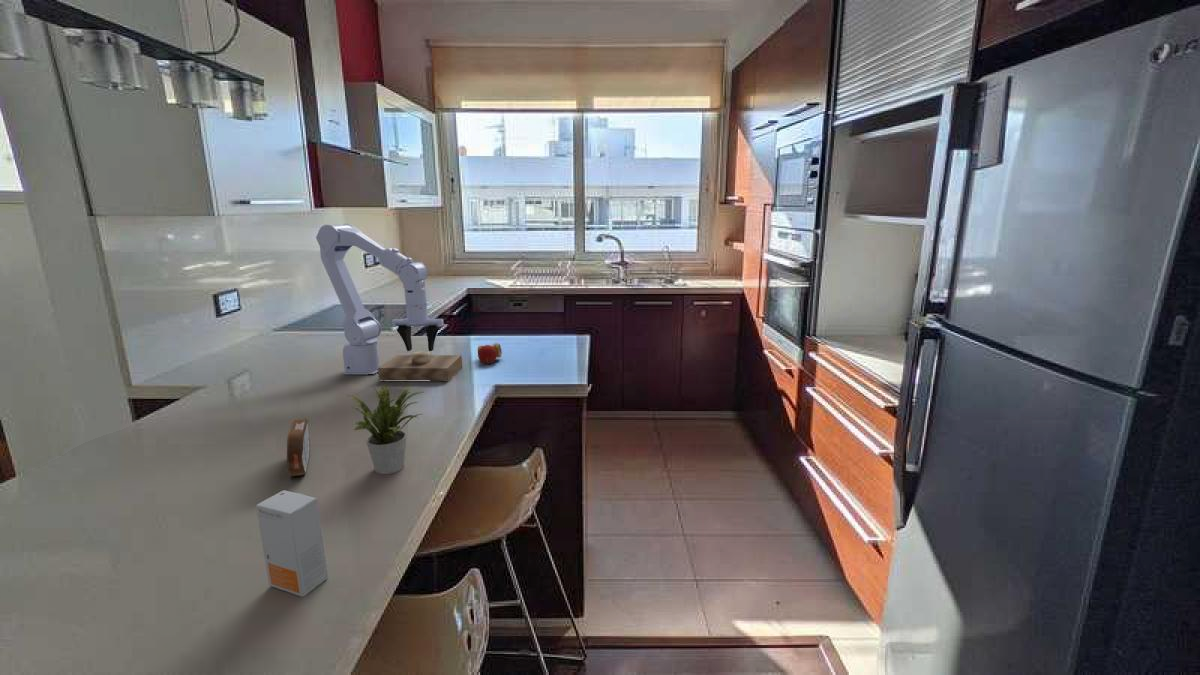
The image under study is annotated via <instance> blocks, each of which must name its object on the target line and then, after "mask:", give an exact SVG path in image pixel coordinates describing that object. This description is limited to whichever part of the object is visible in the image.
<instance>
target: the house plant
mask: <svg viewBox="0 0 1200 675" xmlns="http://www.w3.org/2000/svg"><path fill="white" fill-rule="evenodd" d="M383 385H384V386H383ZM383 385H382V386H381V388H380V390H379V391H378V390H377V389H376V388H375V387H374V386H373V387H372V388H373V389H374V391H375V393H376V396H377V399H378V405H377V407H376V409H374V410H373V412H372V411H371V409H370V407H368V405H367V404H366V403H365V402H363V401H362V400H361V399H358V398H357V397H355V396H353V395H349V394H348V395H347V394H346V395H347V396H348V397H349V398H351V399H352V400H353V401H355V403H356V404H357V405H358V406H359V407H360V408H361V409H362V410H361V409H360V408H358V407H355V406H352V405H351V408H353V409H356V410H357V411H358V412H360V413H361V414H362V416H363V420H364V421H356V422H355V424H356V425H357V426H356V427H355V428H354V429H353V431H360V430H367V431H368V432H370V434H371V435H369V436H368V437H367V438H366V439H365V441H366V445H367V448H368V449H367V450H368V453H369V454H370V458H371V462H372V465H373V468H374V471H375V473H377V474H381V475H390V474H394V473H397V472H399V471H401V470H403V469H404V467H405V459H406V448H407V446H406V445H407V432H405V431H402V429H403V428H404V427H405V426H406V425H407V424H408V423H409V422H410V421H411V420H412V419H414V418H417V419H419V417H418V416H422V415H423V413H419V414H418V413H417V414H415V415H414V414H408V415H405V416H402V415H403V414H405V413H404V410H405V409H406V408H407V407H409V406H410V405H413V404H417V403H419V402H417V401H413V402H410V403H408V404H405V403H406V401H408V400H409V399H410V398H412V397H413V396H416V395H419V394H423V393H424V391H418V392H415V393H412V394H410V395H408V394H409V393H411V391H409V390H410V389H412V387H414V384H412V385H411V386H409V387H407V388H406V389H405V390H403V391H402V392H401V394H400V395H399V396H398V397H396V398H393V399H391V395H390V394H391V393H390V392H389V388H388V386H387V385H386V383H384V384H383ZM407 395H408V396H407ZM395 400H396V401H395ZM393 401H395V403H394V405H392V406H391V403H392V402H393ZM401 416H402V417H401ZM400 417H401V418H400ZM405 419H408V420H407V421H406V422H405V423H404V424H403V425H402V426H401V425H399V424H400V423H401V422H403V421H404V420H405Z"/></svg>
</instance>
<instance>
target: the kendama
mask: <svg viewBox="0 0 1200 675" xmlns="http://www.w3.org/2000/svg"><path fill="white" fill-rule="evenodd" d="M502 355H503V351H502V346H501V344H499V343H497V342H495V343H493V344H492V345H490V344H485V345H479V346H477V357H478V359H479V361H480V362H481V363H483V364H486V365H490V364H493V363H494V362H495V361H496V360H497V359H498V358H501V357H502Z"/></svg>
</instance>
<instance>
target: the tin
mask: <svg viewBox="0 0 1200 675" xmlns="http://www.w3.org/2000/svg"><path fill="white" fill-rule="evenodd" d="M309 422H310V421H309V419H308V418H292V420H291V425H290V427H289V430H288V434H287V439H286V465H287V473H288V476H289V477H290V478H292V477H297V476H298V477H299V476H303V475H306V473H307V471H308V467H309V463H310V456H311V440H310V434H309V426H310V423H309Z"/></svg>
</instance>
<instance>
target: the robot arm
mask: <svg viewBox="0 0 1200 675" xmlns="http://www.w3.org/2000/svg"><path fill="white" fill-rule="evenodd" d="M315 239H316V241H317V243H318V245H319V252H320V254H319V255H320V259H321V262H322V264H323V266H324V269H325V271H326V274H327V275H328V278H329V281H330V283H331V285H332V287H333V290H334V292H335V294H336V296H337V299H338V301H339V303H340V305H341V307H342V309H343V311H344V312H343V313H344V314H345V317H344V318H343V320H342V325H343V329H344V331H343V332H344V337H345V340H346V341H347V342H346V343H345V344H344V346H343V348H342V349H343V350H342V358H343V366H344V367H343V368H344V372H343V375H368V374H374V375H376V374H378V373H377V372H378V368H379V367H380V366H381V363H380V354H379V345H378V341H379V337H380V335H381V333H382V326H381V323H380V322H379V321H378V320H377V319H376V317H374V314H373V313H372V312H371V311H369V310H368V309H366V308H365V306H364V304H363V302H362V300H361V297H360V295H359V292H358V290H357V288H356V286H355V283H354V281H353V278H352V277H351V274H350V272H349V270H348V267H347V265H346V262H345V261H344V260H345V256H346V254H347V253H348V252H349V250H350V249H352V247H356V248H359V250H362V251H364V252H365V253H367V254H369V255H371V256H373V257H375V258H377V259H378V261H379V264H380V266H382V267H384V268H385V269H387V270H389V272H392V273H393V274H395V275H397V276H398V278H399V280H400V282H401V283H402V284H403V285H402V286H403V289H404V299H405V311H406V318H394V319H392V320H391V326H392V328H397V329H396V332H397V333H398V334H399V336H400V338H401V340H403V343H404V345H405V348H406V352H410V351H412V350H413V344H412V327H426V328H424V329H425V333H426V338H427V347H428V352H432V351H434V348H435V341H436V336H437V334H438V331H439V330H440V328H441V327H444V325H445V324H444V318H434V317H433V318H431V317H430V318H429V316H428V314H429V313H428V307H427V306H428V303H427V291H426V279H427V278H428V276H429V271H428V270H429V269H428V267H427V266H426V265H425V264H424V263H423V262H422V261H419V260H418V261H413V258H411V257H407V256H406V255H404V254H403V253H400V252H399V251H400V249H398V248H395V247H393V248H392V247H388V248H385V247H383V246H382V245H380V244H379V243H377V242H376V241H375V240H373V239H372V238H370V237H369V236H367V235H366V234H364V232H362V231H361V230H360V229H359V228H357V227H355V226H354V225H352V224H350V223H343V224H324V225H321V227H319V230H318V232H317V233H316V237H315ZM375 373H376V374H375Z"/></svg>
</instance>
